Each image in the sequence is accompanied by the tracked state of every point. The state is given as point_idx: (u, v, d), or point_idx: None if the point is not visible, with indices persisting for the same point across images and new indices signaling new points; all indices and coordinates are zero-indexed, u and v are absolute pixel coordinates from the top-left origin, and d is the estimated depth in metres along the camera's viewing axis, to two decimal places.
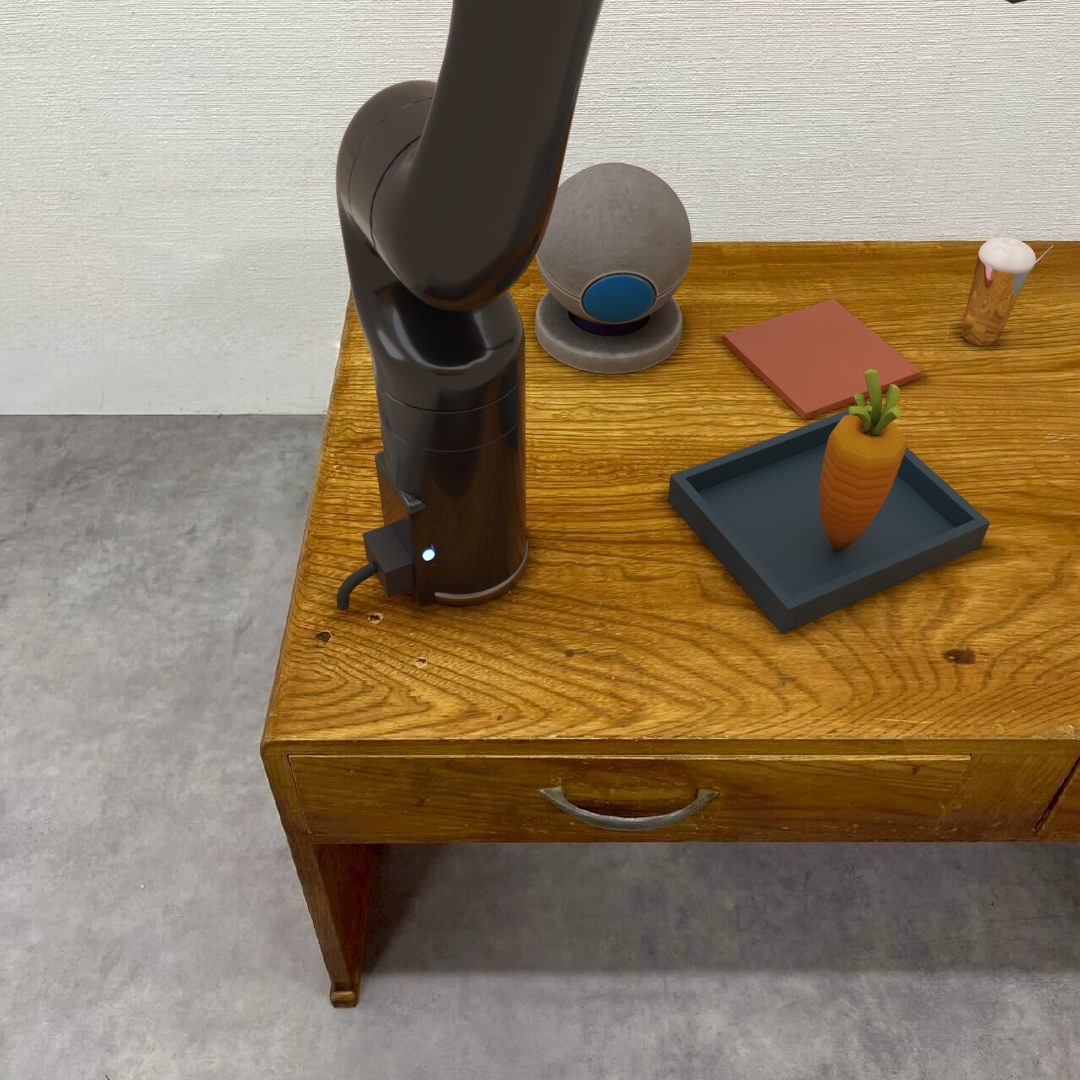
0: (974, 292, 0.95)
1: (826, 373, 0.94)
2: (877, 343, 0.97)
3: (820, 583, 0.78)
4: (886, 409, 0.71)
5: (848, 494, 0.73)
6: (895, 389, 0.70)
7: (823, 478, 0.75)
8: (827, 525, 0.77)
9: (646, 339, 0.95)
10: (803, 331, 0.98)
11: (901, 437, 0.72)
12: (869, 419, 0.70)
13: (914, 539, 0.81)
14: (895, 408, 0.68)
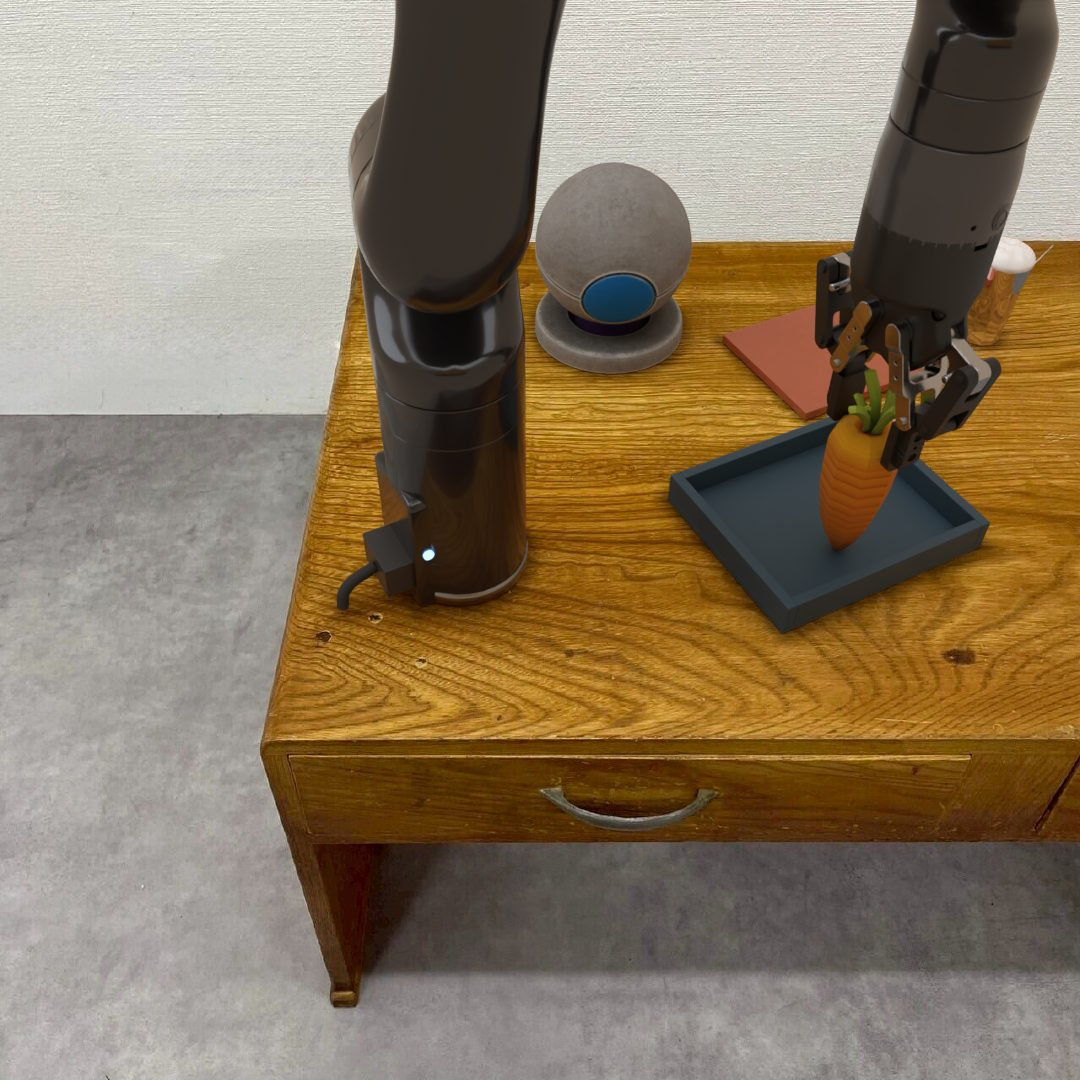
0: None
1: (826, 373, 0.94)
2: None
3: (820, 583, 0.78)
4: (886, 408, 0.71)
5: (848, 493, 0.74)
6: None
7: (823, 478, 0.75)
8: (827, 525, 0.77)
9: (646, 339, 0.95)
10: (803, 331, 0.98)
11: None
12: (869, 419, 0.70)
13: (914, 539, 0.81)
14: None
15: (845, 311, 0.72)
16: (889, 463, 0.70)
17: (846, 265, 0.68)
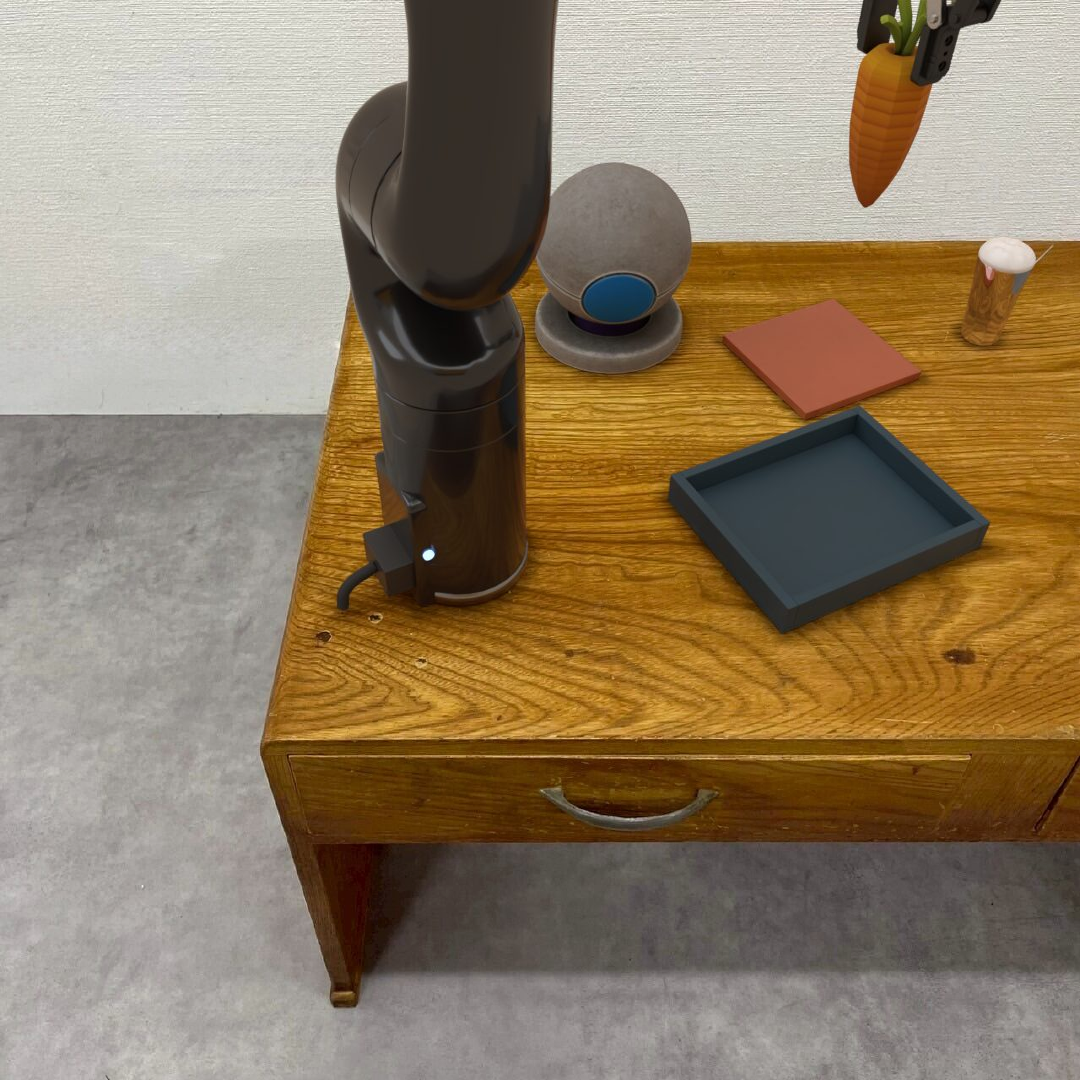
0: (974, 292, 0.95)
1: (826, 373, 0.94)
2: (877, 343, 0.97)
3: (820, 583, 0.78)
4: None
5: (878, 123, 0.75)
6: (926, 2, 0.71)
7: (853, 116, 0.77)
8: (856, 170, 0.79)
9: (646, 339, 0.95)
10: (803, 331, 0.98)
11: None
12: (900, 33, 0.72)
13: (914, 539, 0.81)
14: (926, 12, 0.70)
15: None
16: (919, 75, 0.71)
17: None
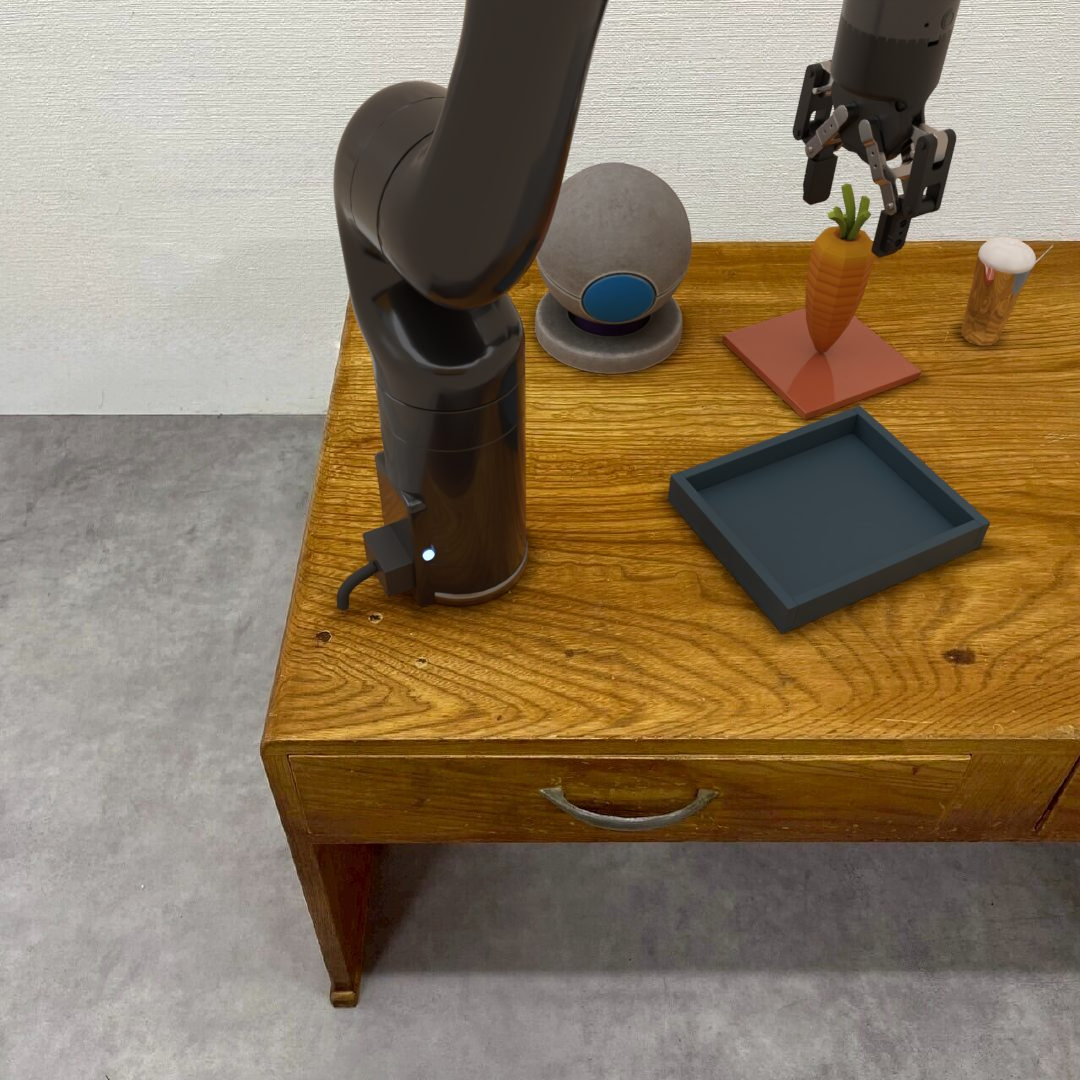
0: (974, 292, 0.95)
1: (826, 373, 0.94)
2: (877, 343, 0.97)
3: (820, 583, 0.78)
4: (859, 216, 0.86)
5: (828, 293, 0.89)
6: (866, 199, 0.86)
7: (808, 284, 0.91)
8: (812, 326, 0.93)
9: (646, 339, 0.95)
10: (803, 331, 0.98)
11: (871, 242, 0.87)
12: (845, 224, 0.86)
13: (914, 539, 0.81)
14: (865, 211, 0.84)
15: (821, 110, 0.87)
16: (879, 249, 0.83)
17: (829, 73, 0.83)
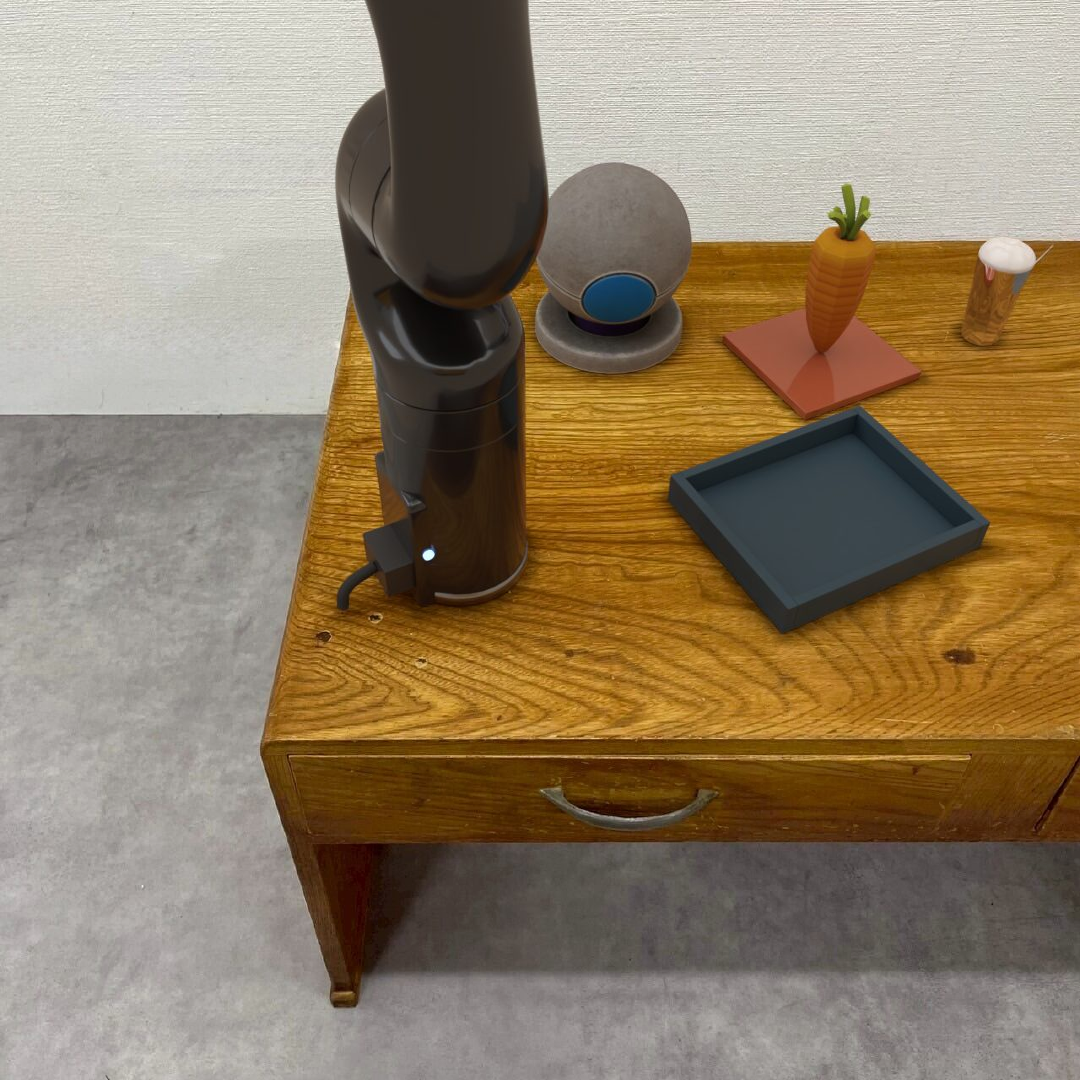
0: (974, 292, 0.95)
1: (826, 373, 0.94)
2: (877, 343, 0.97)
3: (820, 583, 0.78)
4: (859, 216, 0.86)
5: (828, 293, 0.89)
6: (866, 199, 0.86)
7: (808, 284, 0.91)
8: (812, 326, 0.93)
9: (646, 339, 0.95)
10: (803, 331, 0.98)
11: (871, 242, 0.87)
12: (845, 224, 0.86)
13: (914, 539, 0.81)
14: (865, 211, 0.84)
15: None
16: None
17: None
